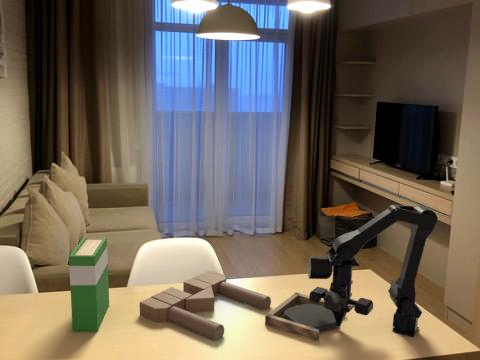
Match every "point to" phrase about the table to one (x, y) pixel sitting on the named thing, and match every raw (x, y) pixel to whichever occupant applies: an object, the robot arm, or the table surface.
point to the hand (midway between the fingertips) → (339, 326)
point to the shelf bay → (290, 326)
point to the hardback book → (89, 284)
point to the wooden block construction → (198, 303)
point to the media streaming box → (312, 316)
